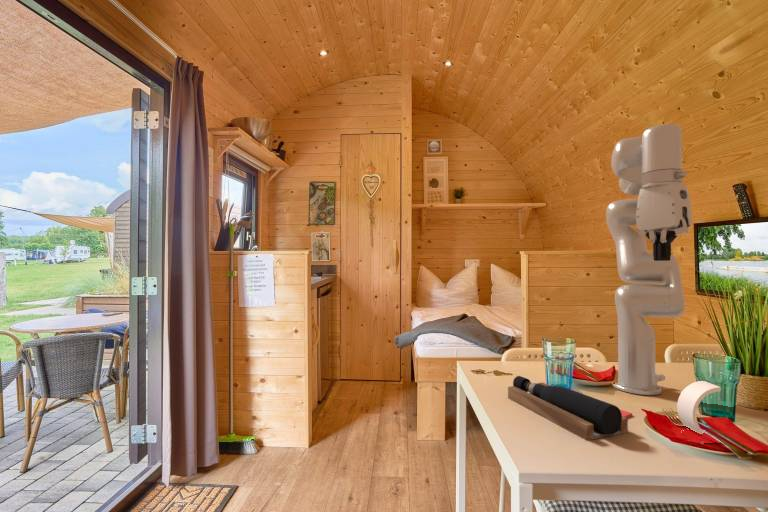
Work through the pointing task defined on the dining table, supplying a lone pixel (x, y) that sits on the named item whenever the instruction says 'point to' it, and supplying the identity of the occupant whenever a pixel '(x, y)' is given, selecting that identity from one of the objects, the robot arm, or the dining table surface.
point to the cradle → (560, 415)
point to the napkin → (626, 413)
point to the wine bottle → (576, 404)
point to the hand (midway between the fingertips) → (662, 260)
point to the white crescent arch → (693, 403)
